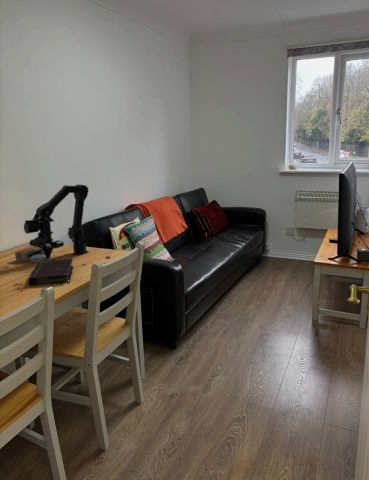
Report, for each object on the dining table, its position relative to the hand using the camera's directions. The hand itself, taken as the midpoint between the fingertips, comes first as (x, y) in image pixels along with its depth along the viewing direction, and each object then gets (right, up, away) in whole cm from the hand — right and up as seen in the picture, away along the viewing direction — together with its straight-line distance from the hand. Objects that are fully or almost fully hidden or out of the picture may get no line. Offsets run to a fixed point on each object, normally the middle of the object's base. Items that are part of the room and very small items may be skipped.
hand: (48, 258), depth 215 cm
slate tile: (-7, -1, +2) cm, 7 cm away
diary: (+11, -8, -25) cm, 28 cm away
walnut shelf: (-11, 0, +5) cm, 12 cm away
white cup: (-11, +6, +30) cm, 33 cm away
